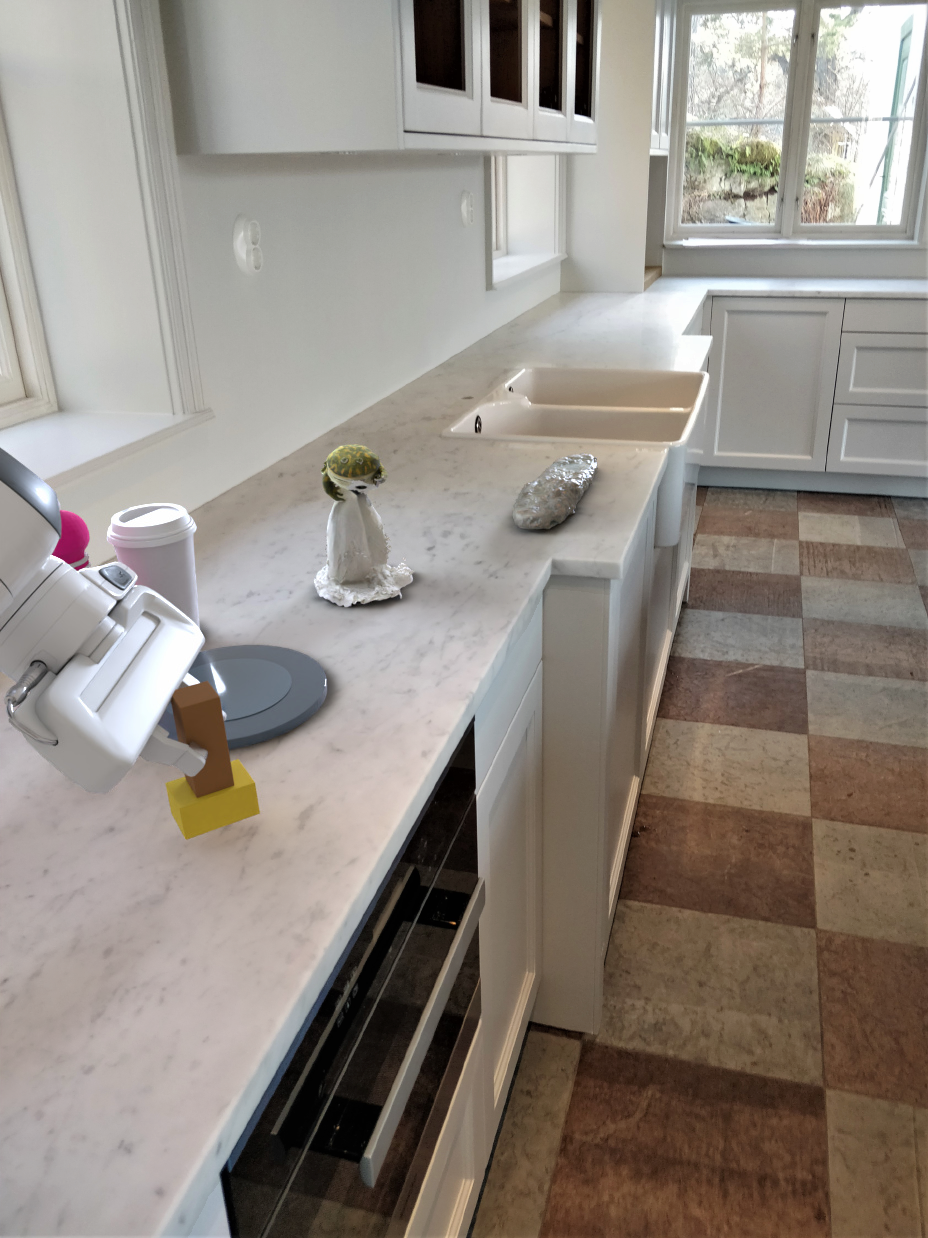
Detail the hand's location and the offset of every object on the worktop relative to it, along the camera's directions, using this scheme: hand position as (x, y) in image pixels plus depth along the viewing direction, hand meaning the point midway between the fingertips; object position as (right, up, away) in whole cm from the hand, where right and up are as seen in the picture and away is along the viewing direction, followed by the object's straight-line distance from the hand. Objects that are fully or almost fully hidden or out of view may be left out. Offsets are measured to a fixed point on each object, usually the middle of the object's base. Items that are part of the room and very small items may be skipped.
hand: (211, 745), depth 74 cm
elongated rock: (+35, +29, +79) cm, 91 cm away
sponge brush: (0, -6, +3) cm, 6 cm away
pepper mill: (-21, +4, +30) cm, 37 cm away
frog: (+7, +14, +49) cm, 51 cm away
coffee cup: (-15, +7, +38) cm, 41 cm away
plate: (-5, +2, +24) cm, 25 cm away
